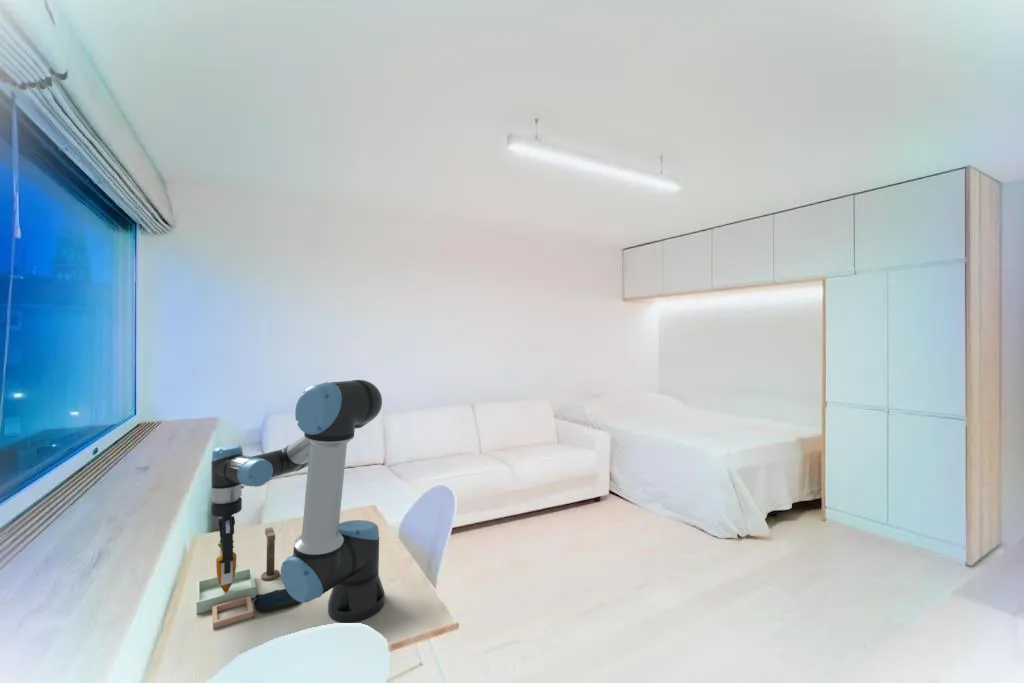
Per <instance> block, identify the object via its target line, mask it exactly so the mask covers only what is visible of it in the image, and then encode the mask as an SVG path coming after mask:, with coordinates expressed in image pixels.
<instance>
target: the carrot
mask: <svg viewBox="0 0 1024 683" xmlns="http://www.w3.org/2000/svg"><path fill="white" fill-rule="evenodd" d="M234 542H235V541H234V540H233V544H234ZM217 547H219V550H220V549H221V550H222V545H221V543H220V542H219V543H217ZM234 548H235V546H234V545H233V549H234ZM233 558H234V559H233V579H234V575H235V572H236V568H237V553H236V552H234V551H233ZM219 561H222V553H221V554H220V553H219V555H218V556H217V558H216V561H215V562H216V564H215V565H216V576H217V577H218V581H219V584H220V586H221V588H222V590H223V591H224V592H227V591H228V590H229V588H230V586H231V584H232V583H229V584H225V585H221V563H220V564H219Z"/></svg>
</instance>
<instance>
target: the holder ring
mask: <svg viewBox="0 0 1024 683" xmlns="http://www.w3.org/2000/svg"><path fill="white" fill-rule="evenodd" d="M242 605H246V609H247V611H243V612H240V613H236V614H233V615H230V616H226V617H223V618H219V619H218V612H221V611H225V610H228V609H232V608H235V607H239V606H242ZM211 612H212V615H211V617H212V629H213V630H215V629H218V628H221V627H224V626H229V625H231V624H234V623H237V622H241V621H244V620H248V619H250V618H253V617H254V608H253V604H252V598H251V597H250V596H246V597H243V598H239V599H236V600H232V601H228V602H225V603H221V604H218V605H214V606H212V610H211Z"/></svg>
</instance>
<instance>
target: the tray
mask: <svg viewBox="0 0 1024 683" xmlns="http://www.w3.org/2000/svg"><path fill="white" fill-rule="evenodd" d="M253 572H254V571H253V568H252V567H249V568H245V569H240V570H237V571H236V570H235V575H234V579H233V583H232V584H231V586H230V588H229V590H228V591H227V592H224V591H223V590H222V588H221V586H220V584H219V581H218V577H217V575H216V576H212V577H209V578H204V579H202V580H197V581H196V615H199V614H202V613H205V612H208V611H212V606H214V605H218V604H221V603H225V602H228V601H232V600H236V599H239V598H243V597H246V596H250V597H251V599H254V598H255V599H256V598H257V594H256V593H257V591H256V589H257V585H256V581H255V577H254V573H253Z"/></svg>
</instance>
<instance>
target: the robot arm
mask: <svg viewBox="0 0 1024 683" xmlns="http://www.w3.org/2000/svg"><path fill="white" fill-rule="evenodd" d="M382 405H383V398H382V394H381V392H380V390H379V389H378V387H377V386H376V385H375V384H374V383H372V382H370V381H367V380H364V379H353V380H345V381H344V380H343V381H331V382H328V381H326V382H322V383H318V384H313V385H311V386H308V387H306V389H305V390H304V391H303V392H302V393H301V394H300V396H299V397H298V399H297V401H296V405H295V411H294V412H295V415H294V416H295V420H296V421H297V424H296V425H297V426H298V428H299V429H300V430H301V431H302V432H303V434H301V435H300V436H299V437H297V438H296V439H294V440H293V441H292V442H291V443H289V444H288V445H286V447H284V448H282V449H277V450H273V451H270V452H269V451H268V452H266V453H261V454H257V455H253V456H248V455H244V453H243V447H242V446H241V445H240V444H225V445H220V446H218V447H215V448H214V449H213V450H212V453H211V461H210V464H211V488H210V490H211V491H210V492H211V494H210V496H211V497H210V499H211V501H212V502H211V505H210V508H211V511H210V512H211V515H212V516H213V517H216V518H217V517H218V520H217V522H218V528H219V530H218V531H219V538H220V540H219V543H220V544H221V545H222V550H221V549H220V548H219V555H220V554H221V553H222V561H219V564H220V563H221V585H225V584H229V583H233V559H234V558H233V552H234V548H233V546H234V543H233V541H234V534H235V524H236V519H235V514H238V513H239V512H241V511H242V508H243V505H242V503H243V498H242V494H243V492H242V490H243V489H244V488H245V486H246V487H255V488H257V487H262V486H264V485H265V484H267V483H268V482H269V481H270V480H271V479H274V478H276V477H279V476H284V475H286V474H290V473H293V472H299V471H301V470H303V469H305V468H307V472H306V473H307V474H306V486H305V496H304V505H303V507H304V508H303V518H302V529H301V534H300V535H299V536H297V538H296V539H295V540H294V544H293V552H292V555H290V556H287V558H286V559H285V560H284V561H283V562H282V564H281V566H280V576H281V577H280V578H281V582H282V584H283V587H284V589H286V592H287V593H288V595H289V596H290V597H291V598H292V599H294V600H295V601H297V602H299V603H309V602H311V601H314V600H315V599H317V598H321V596H323V594H325V593H326V592H328V591H330V590H331V592H330V595H329V599H328V601H327V602H328V603H327V614H328V615H329V617H330V618H332V619H333V620H334V621H338V622H342V623H349V622H350V623H351V622H359V621H362V620H366V619H369V618H370V617H372V616H374V615H376V614H377V613H378V612H379V611H381V610H382V609H383V607H384V605H385V602H386V601H385V600H386V599H385V598H386V596H385V590H384V587H383V584H382V580H381V578H380V575H379V574H380V573H379V568H380V567H379V564H380V562H379V561H380V560H379V558H380V538H381V537H380V533H379V532H380V531H379V526H378V524H376V523H375V522H373V521H369V520H361V519H353V520H346V521H343V522H340V519H341V518H340V516H341V509H342V508H341V507H342V498H343V497H342V496H343V490H344V489H343V487H344V476H345V469H346V468H345V467H346V458H347V449H348V448H347V446H348V443H349V442H351V441H352V440H353V439H354V437H355V431H356V430H355V429H361V428H363V427H364V426H365V425H368V424H369V423H370V422H371V421H373V420H375V418H376V417H377V416H378V415H379V414H380V412H381V410H382Z"/></svg>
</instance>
